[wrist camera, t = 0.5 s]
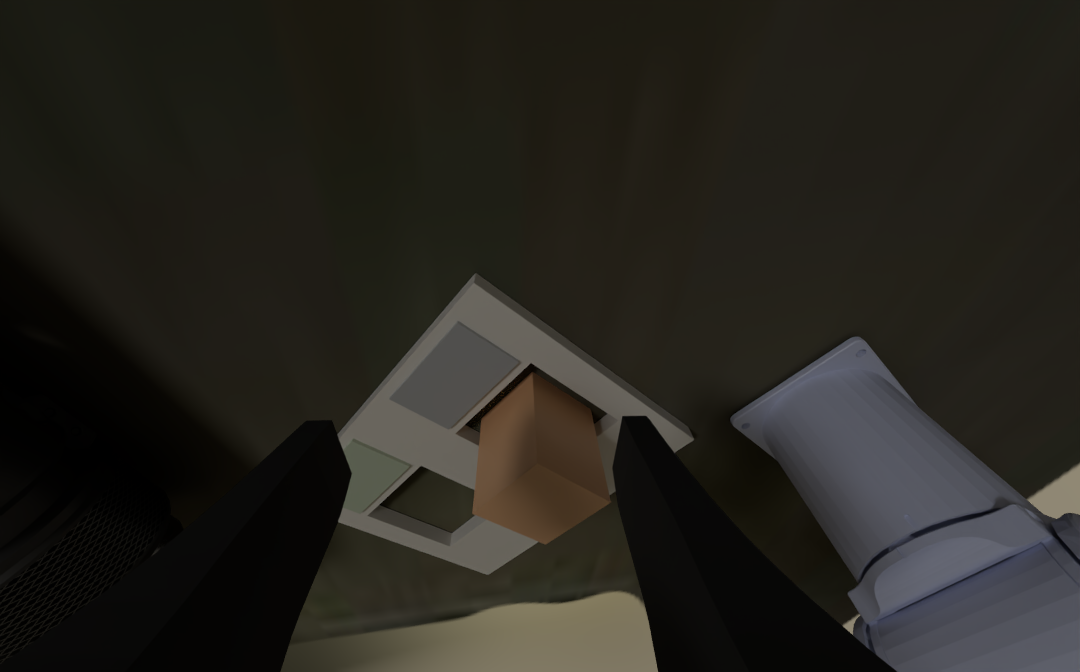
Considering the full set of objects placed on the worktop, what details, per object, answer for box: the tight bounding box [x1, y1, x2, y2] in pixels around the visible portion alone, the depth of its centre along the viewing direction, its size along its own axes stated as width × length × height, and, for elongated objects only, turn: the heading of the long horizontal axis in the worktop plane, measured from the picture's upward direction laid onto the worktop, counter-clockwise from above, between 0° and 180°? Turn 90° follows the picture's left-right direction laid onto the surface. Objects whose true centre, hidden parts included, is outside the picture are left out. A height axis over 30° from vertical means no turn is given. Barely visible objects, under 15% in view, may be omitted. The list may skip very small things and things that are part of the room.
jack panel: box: [337, 273, 694, 575], centre depth 25 cm, size 16×20×1 cm
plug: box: [472, 372, 611, 545], centre depth 21 cm, size 4×5×6 cm
